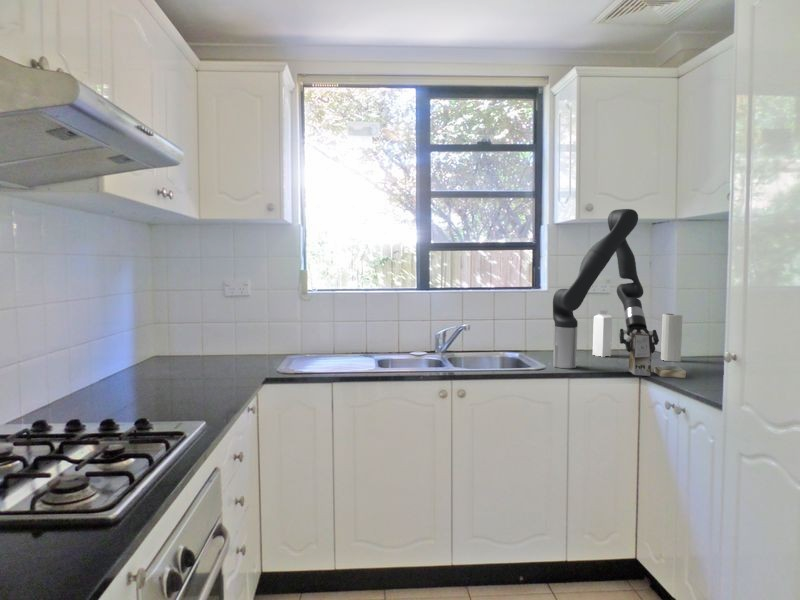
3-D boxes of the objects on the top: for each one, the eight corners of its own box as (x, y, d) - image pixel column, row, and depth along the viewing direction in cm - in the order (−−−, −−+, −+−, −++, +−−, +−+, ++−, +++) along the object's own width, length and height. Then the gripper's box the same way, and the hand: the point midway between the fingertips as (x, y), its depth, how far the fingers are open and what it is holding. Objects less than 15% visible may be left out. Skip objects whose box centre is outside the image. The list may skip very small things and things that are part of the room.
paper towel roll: (657, 359, 235) (659, 313, 234) (669, 359, 237) (670, 313, 235) (668, 362, 228) (670, 315, 227) (680, 362, 229) (682, 314, 228)
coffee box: (651, 376, 199) (653, 335, 198) (633, 375, 201) (635, 334, 200) (645, 371, 208) (646, 332, 207) (628, 370, 210) (629, 331, 208)
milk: (592, 355, 245) (593, 309, 244) (601, 354, 248) (602, 309, 247) (602, 357, 240) (603, 310, 239) (611, 356, 243) (612, 310, 242)
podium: (660, 376, 199) (660, 369, 199) (654, 371, 207) (654, 365, 207) (685, 377, 197) (685, 370, 197) (678, 372, 206) (678, 366, 205)
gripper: (618, 313, 212) (623, 345, 202) (655, 314, 209) (662, 346, 199) (615, 325, 218) (620, 356, 207) (651, 326, 215) (658, 357, 204)
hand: (641, 351), depth 203 cm, fingers open, 8 cm apart
